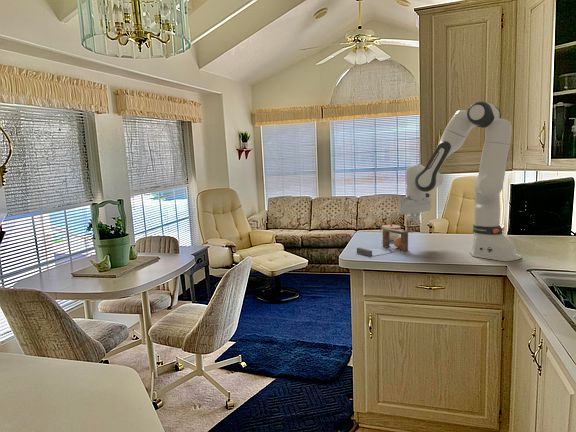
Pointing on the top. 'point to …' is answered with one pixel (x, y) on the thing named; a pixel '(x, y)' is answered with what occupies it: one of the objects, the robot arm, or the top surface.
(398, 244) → the ball
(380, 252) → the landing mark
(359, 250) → the stopper
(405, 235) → the bridge
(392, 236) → the lidded jar
